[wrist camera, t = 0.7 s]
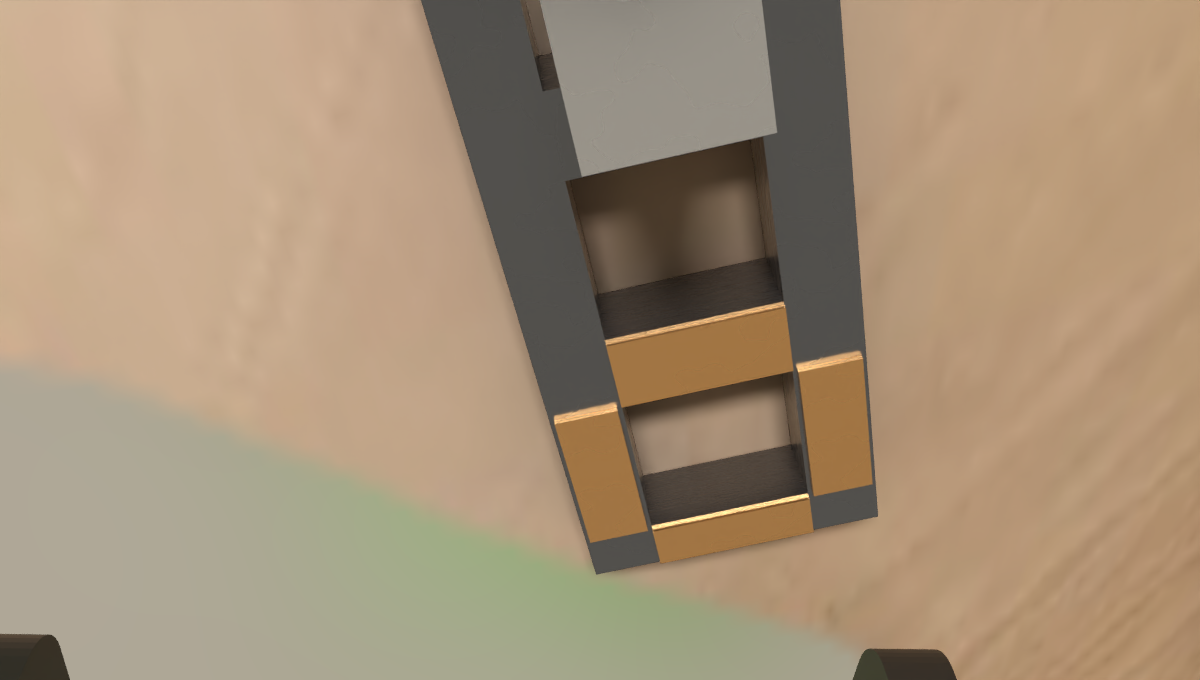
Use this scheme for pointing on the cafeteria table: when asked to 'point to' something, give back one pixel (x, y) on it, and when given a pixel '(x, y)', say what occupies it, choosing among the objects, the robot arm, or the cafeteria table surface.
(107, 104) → the cafeteria table surface
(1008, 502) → the cafeteria table surface
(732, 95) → the steel block
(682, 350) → the slotted rack
